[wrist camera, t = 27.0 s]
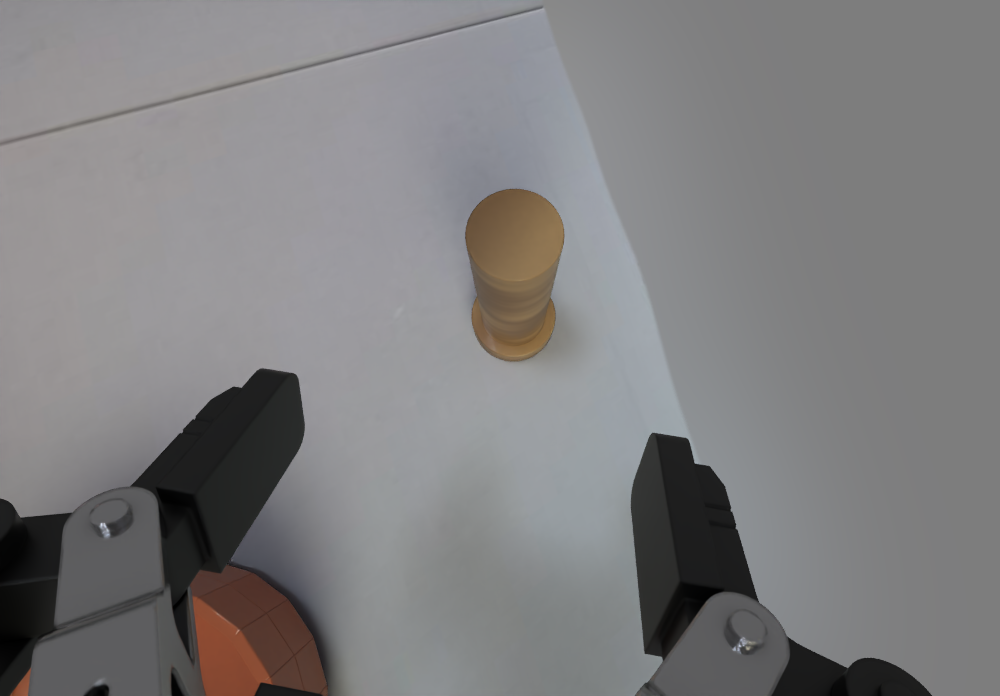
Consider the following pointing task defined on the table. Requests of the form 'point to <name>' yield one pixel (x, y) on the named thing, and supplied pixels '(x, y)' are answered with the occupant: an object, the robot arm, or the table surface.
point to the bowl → (246, 637)
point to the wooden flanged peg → (514, 271)
